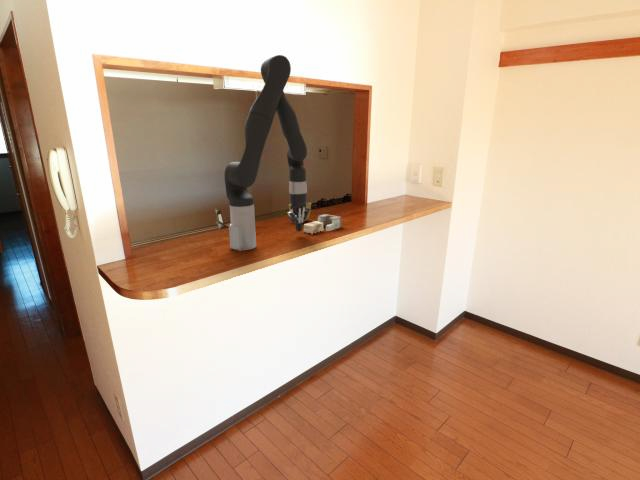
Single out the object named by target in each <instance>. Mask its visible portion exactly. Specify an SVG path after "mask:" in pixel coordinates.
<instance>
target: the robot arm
mask: <svg viewBox="0 0 640 480" xmlns="http://www.w3.org/2000/svg"><path fill="white" fill-rule="evenodd" d="M291 69H292V67H291V62H290V60H289V58H288V57H286V56H284V55H282V54H278V55H277V54H276V55H273V56H272V57H271V56H270V57H269V58H268V59H265V60H264V61H263V62H262V63H261V66H260V74H261V78H262V80H263V83H264V85H263V87H262V90H261V92H260V93H259V94H258V96H257V97H256V98H255V100H254V102H253V104H252V105H251V106H250V110H249V111H248V114H247V117H246V121H245V123H244V140H245V146H244V150H243V154H242V156H241V157H242V158H240V159H241V160H240V161H231V162H229V163H228V164H227V165H226V167H225V169H224V185H225V193H226V197H227V199H228V202H229V204H228V205H229V215H230V224H229V225H228V230H229V231H228V232H229V234H228V235H229V245H230V249H232V250H234V251H238V252H242V251H248V250H249V251H250V250H254V249H255V248H257V237H256V218H255V200H254V199H255V198H254V197H253V195H252V194H250V192H249V190H248V188H250V187H252V186H253V184H254V183H255V182H256V179H257V177H258V173H259V172H258V171H259V168H260V163H261V158H262V156H263V151H264V149H265V145H266V142H267V139H268V135H269V134H270V131H271V128H272V124H273V121H274V118H275V115H276V114H277V117H278V120H279V124H280V127H281V132H282V134H283V137H284V139H286V142H287V145H288V147H287V149H286V150H287V151H286V156H287V157H286V159H287V165H288V170H289V173H288V174H289V175H288V179H289V183H288V184H289V185H288V192H289V195H288V196H289V198H288V199H289V203H290V204H291V208H290V209H291V210H290V211H286V215H287V217H288V218H289V220H290V221H291V223H294V224H295V230H296V232H302V231H303V223H304V222H305V221H304V220H306V218H307V215H308V213H309V211H310V208H307V207H306V203H308V186H307V172H306V168H305V166H304V160H305V159H306V158H307V156H308V149H307V145H306V142H305V140H304V137H303V135H302V133H301V128H300V124H299V122H298V121H299V120H298V118H297V115H296V111H295V110H294V108H293V107H292V105H291V104H290V101H289V100H288V99H287V96H286V94H285V91H284V89H285V87H286V85H287V83H288V81H289V79H290V76H291V71H292V70H291ZM310 212H311V211H310ZM304 215H305V216H304ZM306 221H307V220H306Z"/></svg>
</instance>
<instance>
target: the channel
mask: <svg viewBox="0 0 640 480" xmlns="http://www.w3.org/2000/svg"><path fill="white" fill-rule="evenodd" d="M342 220H343V219H342V216H339V215H332V214H327V213H324V214H321V215H317V222H322V223H323V227H324V226H325V231H326V232H330V231H334V230H337V229H340V228H342V224H343V221H342Z"/></svg>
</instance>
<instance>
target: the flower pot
mask: <svg viewBox="0 0 640 480" xmlns="http://www.w3.org/2000/svg"><path fill="white" fill-rule="evenodd" d="M306 207H307V208H310V211H309V213H308V215H307V218H306V220H304V221H303V222H306V221H308V219H309V218H310V215H311V210H312V202H306ZM290 208H291V203H290V204H288V209H289V211H290V210H291V209H290ZM289 211H288V212H289ZM304 216H305V215H304Z"/></svg>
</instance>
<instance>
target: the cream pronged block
mask: <svg viewBox="0 0 640 480" xmlns="http://www.w3.org/2000/svg"><path fill="white" fill-rule="evenodd" d="M317 221H318V220H317ZM317 221H316V220H314V221H312V222H311V221H310V222H307V223H304V224H303V233H304V232H306V233H305V234H308V233H311V234H310V235H314V234H313V233H315V234H318V233H320V231H321V232H324V226H323V223H322V222H317ZM317 232H318V233H317Z"/></svg>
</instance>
